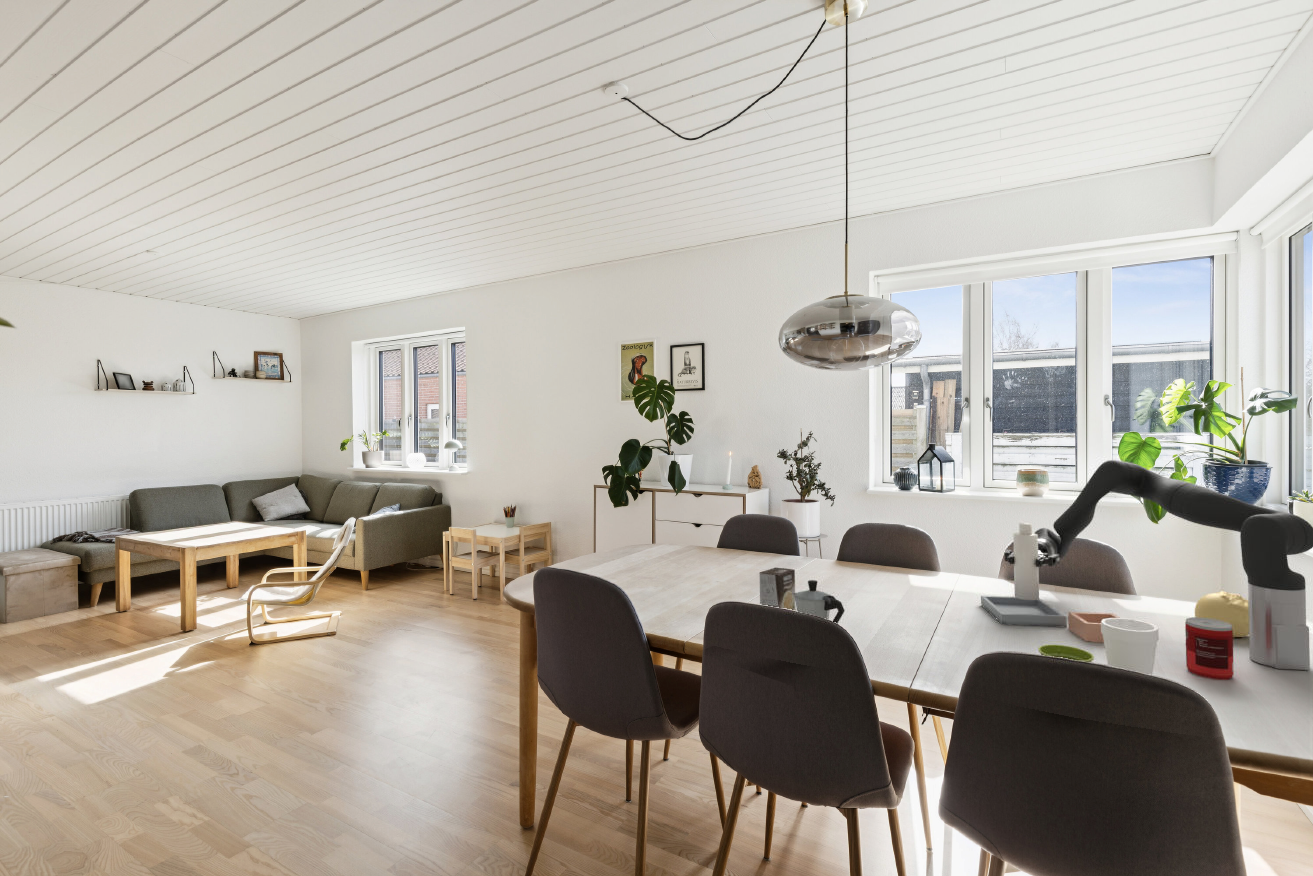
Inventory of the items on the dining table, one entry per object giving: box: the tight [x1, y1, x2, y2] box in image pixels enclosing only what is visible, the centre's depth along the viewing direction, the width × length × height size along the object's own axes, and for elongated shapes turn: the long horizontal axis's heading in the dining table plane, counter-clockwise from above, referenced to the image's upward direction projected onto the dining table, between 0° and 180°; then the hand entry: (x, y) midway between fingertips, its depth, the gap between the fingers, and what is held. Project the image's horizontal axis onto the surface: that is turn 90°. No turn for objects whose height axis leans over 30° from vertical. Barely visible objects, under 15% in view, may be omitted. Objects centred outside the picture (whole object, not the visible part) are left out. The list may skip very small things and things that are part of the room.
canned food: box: [1184, 616, 1234, 681], centre depth 136 cm, size 8×8×11 cm
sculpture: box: [1194, 590, 1249, 638], centre depth 161 cm, size 12×12×11 cm
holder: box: [1067, 611, 1121, 643], centre depth 162 cm, size 10×10×4 cm
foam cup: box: [1101, 617, 1160, 676], centre depth 130 cm, size 10×9×13 cm
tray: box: [980, 595, 1068, 628], centre depth 182 cm, size 20×16×3 cm
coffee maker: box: [792, 579, 845, 625], centre depth 153 cm, size 15×9×18 cm, turn 40°
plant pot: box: [1037, 644, 1095, 663], centre depth 127 cm, size 9×9×9 cm
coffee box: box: [759, 567, 796, 611], centre depth 175 cm, size 9×6×16 cm
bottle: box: [1012, 522, 1040, 600], centre depth 179 cm, size 6×6×21 cm
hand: (1024, 561), depth 178 cm, fingers closed on bottle, 6 cm apart
